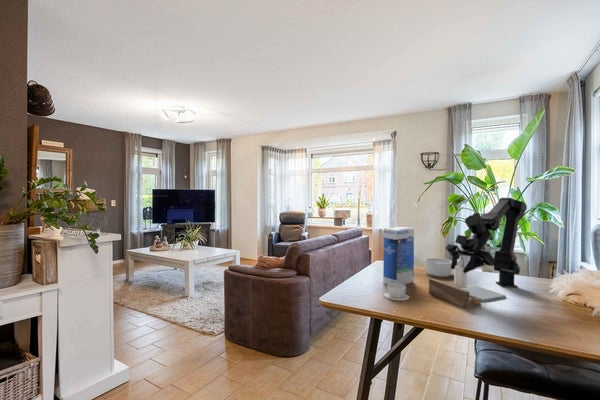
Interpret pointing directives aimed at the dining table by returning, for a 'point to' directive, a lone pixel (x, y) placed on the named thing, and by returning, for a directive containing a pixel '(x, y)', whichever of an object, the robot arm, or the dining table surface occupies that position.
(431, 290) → the walnut stand
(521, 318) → the dining table surface
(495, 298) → the grey mat
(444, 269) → the ramekin
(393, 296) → the teacup
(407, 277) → the string lights box
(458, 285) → the eye dropper bottle
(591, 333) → the dining table surface
